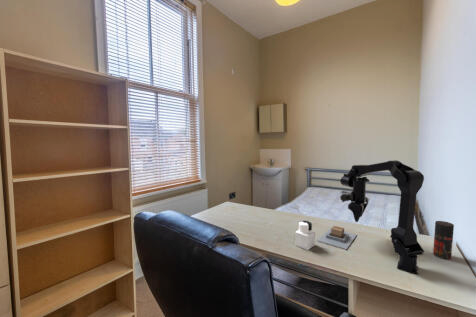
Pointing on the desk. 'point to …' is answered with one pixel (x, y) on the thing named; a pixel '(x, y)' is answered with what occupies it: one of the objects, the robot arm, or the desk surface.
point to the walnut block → (337, 232)
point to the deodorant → (443, 240)
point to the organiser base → (337, 239)
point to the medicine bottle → (305, 235)
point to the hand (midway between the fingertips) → (358, 219)
